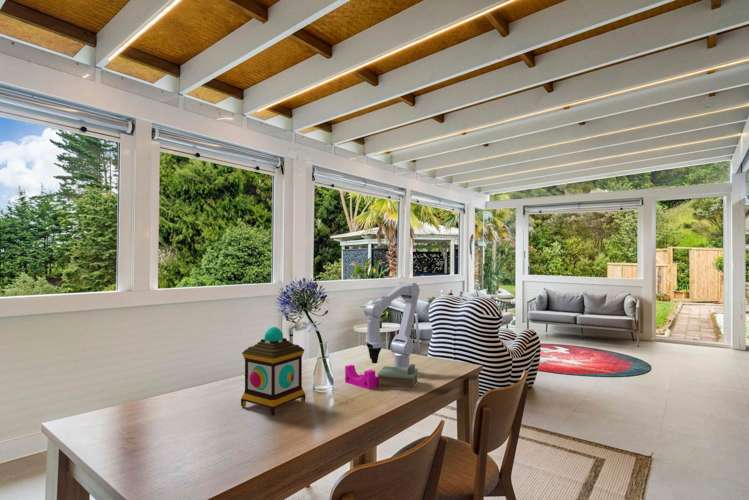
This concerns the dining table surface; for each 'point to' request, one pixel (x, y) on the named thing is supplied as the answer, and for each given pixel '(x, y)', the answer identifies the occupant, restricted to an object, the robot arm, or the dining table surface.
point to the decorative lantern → (273, 371)
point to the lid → (399, 371)
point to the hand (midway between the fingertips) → (373, 360)
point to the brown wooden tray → (397, 382)
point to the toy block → (361, 378)
